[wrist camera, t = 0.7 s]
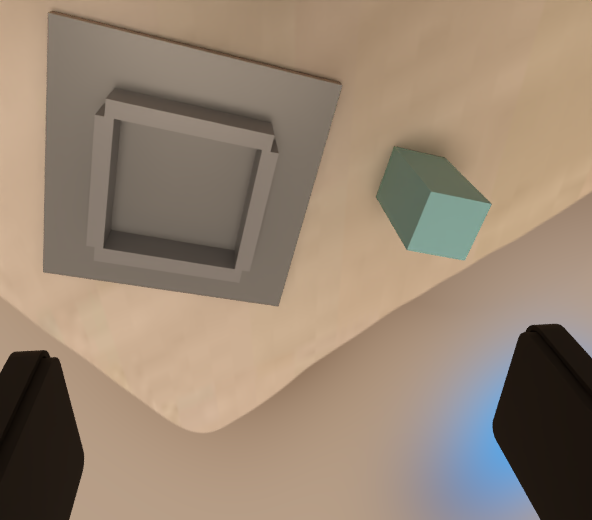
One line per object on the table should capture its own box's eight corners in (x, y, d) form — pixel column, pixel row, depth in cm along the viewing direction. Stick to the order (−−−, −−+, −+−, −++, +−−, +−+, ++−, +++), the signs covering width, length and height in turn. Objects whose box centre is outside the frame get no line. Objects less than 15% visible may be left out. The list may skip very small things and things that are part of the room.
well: (52, 10, 34) (32, 18, 31) (339, 82, 38) (350, 95, 35) (46, 265, 44) (31, 292, 40) (277, 300, 48) (281, 326, 45)
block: (394, 146, 42) (431, 191, 34) (444, 157, 43) (491, 204, 35) (376, 196, 44) (406, 250, 36) (424, 206, 45) (464, 260, 37)
